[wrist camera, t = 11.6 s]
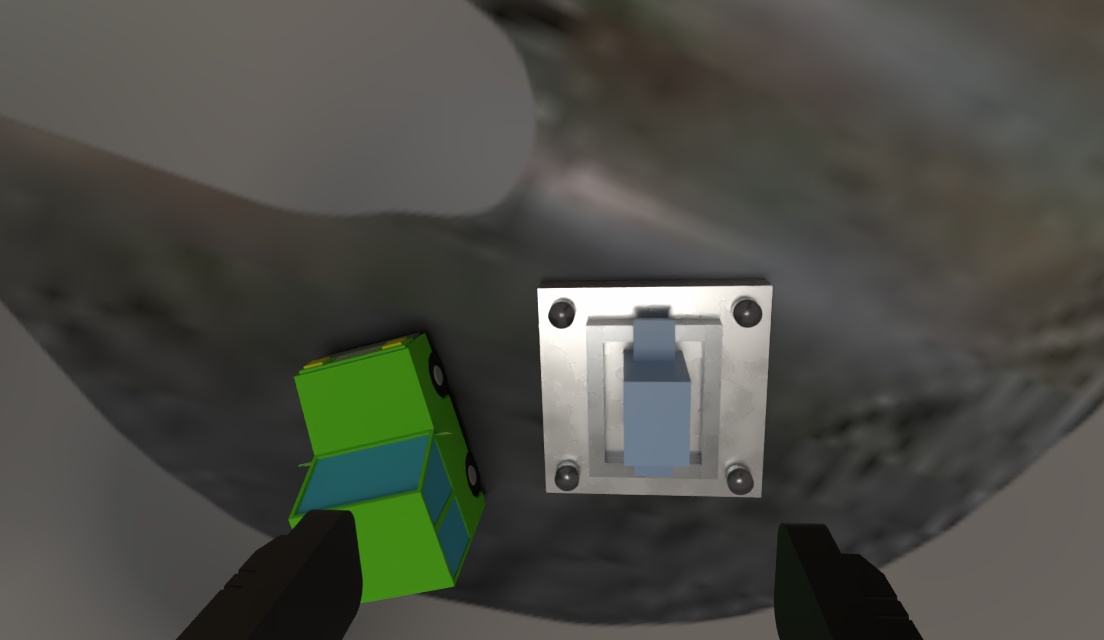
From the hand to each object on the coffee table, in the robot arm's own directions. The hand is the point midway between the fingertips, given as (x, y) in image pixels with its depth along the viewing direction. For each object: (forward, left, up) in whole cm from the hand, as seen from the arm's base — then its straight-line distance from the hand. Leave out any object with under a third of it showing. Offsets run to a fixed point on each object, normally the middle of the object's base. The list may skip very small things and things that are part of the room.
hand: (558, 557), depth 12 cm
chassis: (+8, +3, -30) cm, 31 cm away
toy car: (+11, -14, -30) cm, 35 cm away
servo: (+8, +3, -28) cm, 29 cm away
